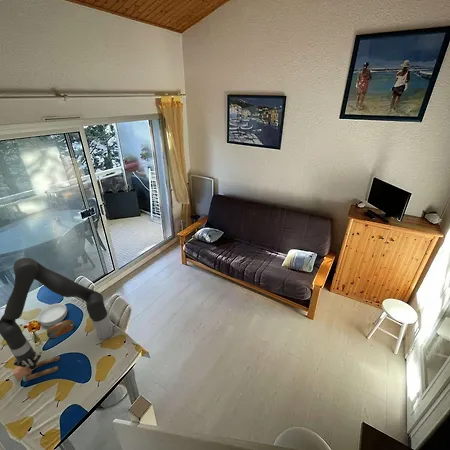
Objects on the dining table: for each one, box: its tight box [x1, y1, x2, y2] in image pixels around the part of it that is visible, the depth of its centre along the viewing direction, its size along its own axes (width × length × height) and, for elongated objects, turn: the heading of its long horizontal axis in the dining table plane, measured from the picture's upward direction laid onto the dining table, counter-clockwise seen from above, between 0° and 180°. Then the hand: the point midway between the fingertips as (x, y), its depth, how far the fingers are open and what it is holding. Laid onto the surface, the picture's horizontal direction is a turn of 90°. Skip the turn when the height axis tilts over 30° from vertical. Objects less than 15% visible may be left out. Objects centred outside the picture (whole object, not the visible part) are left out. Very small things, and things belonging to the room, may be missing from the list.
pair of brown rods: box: [22, 355, 61, 383], centre depth 140 cm, size 16×9×2 cm, turn 113°
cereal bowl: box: [37, 302, 68, 327], centre depth 168 cm, size 17×17×7 cm
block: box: [12, 366, 33, 381], centre depth 136 cm, size 6×4×6 cm, turn 113°
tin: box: [46, 319, 75, 339], centre depth 159 cm, size 15×3×8 cm, turn 126°
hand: (33, 367), depth 138 cm, fingers closed
